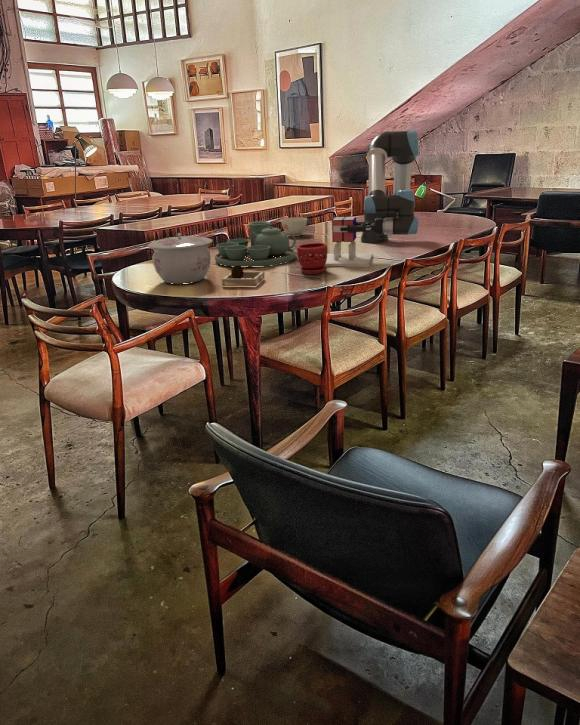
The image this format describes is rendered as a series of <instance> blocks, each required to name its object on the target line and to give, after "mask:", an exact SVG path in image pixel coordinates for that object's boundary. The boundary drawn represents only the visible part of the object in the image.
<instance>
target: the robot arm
mask: <svg viewBox="0 0 580 725" xmlns="http://www.w3.org/2000/svg"><path fill="white" fill-rule="evenodd" d="M419 148H420V147H419V133H418V132H417V131H416V130H397V131H383V132H380V133H379V134H377V135H376V136H375V137H373V139H372V140H371V141H370V143H369V144H368V146H367V150H366V160H367V161H368V195H366V196H364V199H363V200H364V204H363V221H356V226H349V225H348V226H333V231H332V232H349V233H353V232H356V233H361V236H360V242H361V243H364V244H365V243H367V244H380V243H386V242H389V237H391V236H392V235H398V236H400V235H403V236H404V235H405V236H409V235H416V234H418V232H419V217H417V216H415V207H416V201H415V191H414V190H412V189H411V181H412V171H413V170H412V169H413V168H412V167H413V162H414V161H415V160H416V158H417V157H419V155H420V149H419ZM388 158H391V160H392V162H393V163H394V169H393V189H392V190H393V192H392V194H387V195H386V160H387V159H388Z"/></svg>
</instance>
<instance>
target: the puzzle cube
mask: <svg viewBox="0 0 580 725" xmlns="http://www.w3.org/2000/svg"><path fill="white" fill-rule="evenodd" d="M356 222H357V217H356V216H342V217H341V216H338V217H337V216H336V217H334V218H333V219H332V220H331V230H332V232H331V234H332V235H331V238H332V240H331V241H332V243H336V242H341V243H343V242H344V243H351V242H356V239H357V232H353V233H349V232H333V226H348V225H349V226H356Z"/></svg>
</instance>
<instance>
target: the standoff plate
mask: <svg viewBox="0 0 580 725" xmlns="http://www.w3.org/2000/svg"><path fill="white" fill-rule="evenodd" d="M356 246H357V245H356V241H354V242H350V243H349V244H348V252H347V253H342V242H335V244H333V252H332V253H331V252H330V253H328V252H327V260H326V264H325V266H345V267H347V268H353V267H354V268H356V267H357V268H367V267H369V265H370V263H371V261H372V260H373V256H374V253H372V252H369V253H368V252H364V253H363V252H362V253H361V252H360V253H359V252H356V250H357V249H356ZM345 267H344V268H345Z"/></svg>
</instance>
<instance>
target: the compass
mask: <svg viewBox="0 0 580 725" xmlns="http://www.w3.org/2000/svg"><path fill="white" fill-rule="evenodd" d="M243 272H244V268H242V267H241V266H240V265H235V266H234V267H233V268H231V271H230V273H231V274H232V277H233V278H234V279H241V278H242V277H243ZM245 279H246V278H245Z"/></svg>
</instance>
